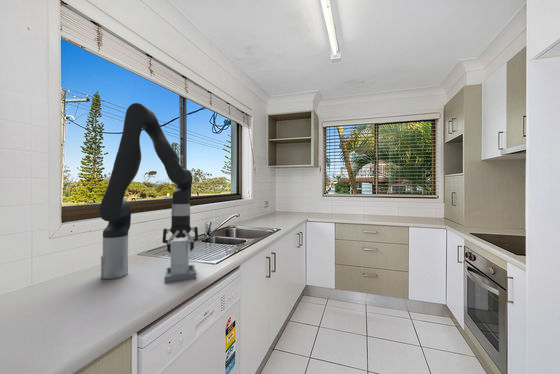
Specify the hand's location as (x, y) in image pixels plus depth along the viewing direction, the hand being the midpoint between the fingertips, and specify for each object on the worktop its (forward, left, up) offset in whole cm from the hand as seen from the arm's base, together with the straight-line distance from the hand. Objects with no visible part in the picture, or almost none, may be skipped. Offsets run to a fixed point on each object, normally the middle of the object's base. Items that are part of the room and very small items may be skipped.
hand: (180, 251), depth 106 cm
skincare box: (0, 0, -10) cm, 10 cm away
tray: (0, 0, -11) cm, 11 cm away
